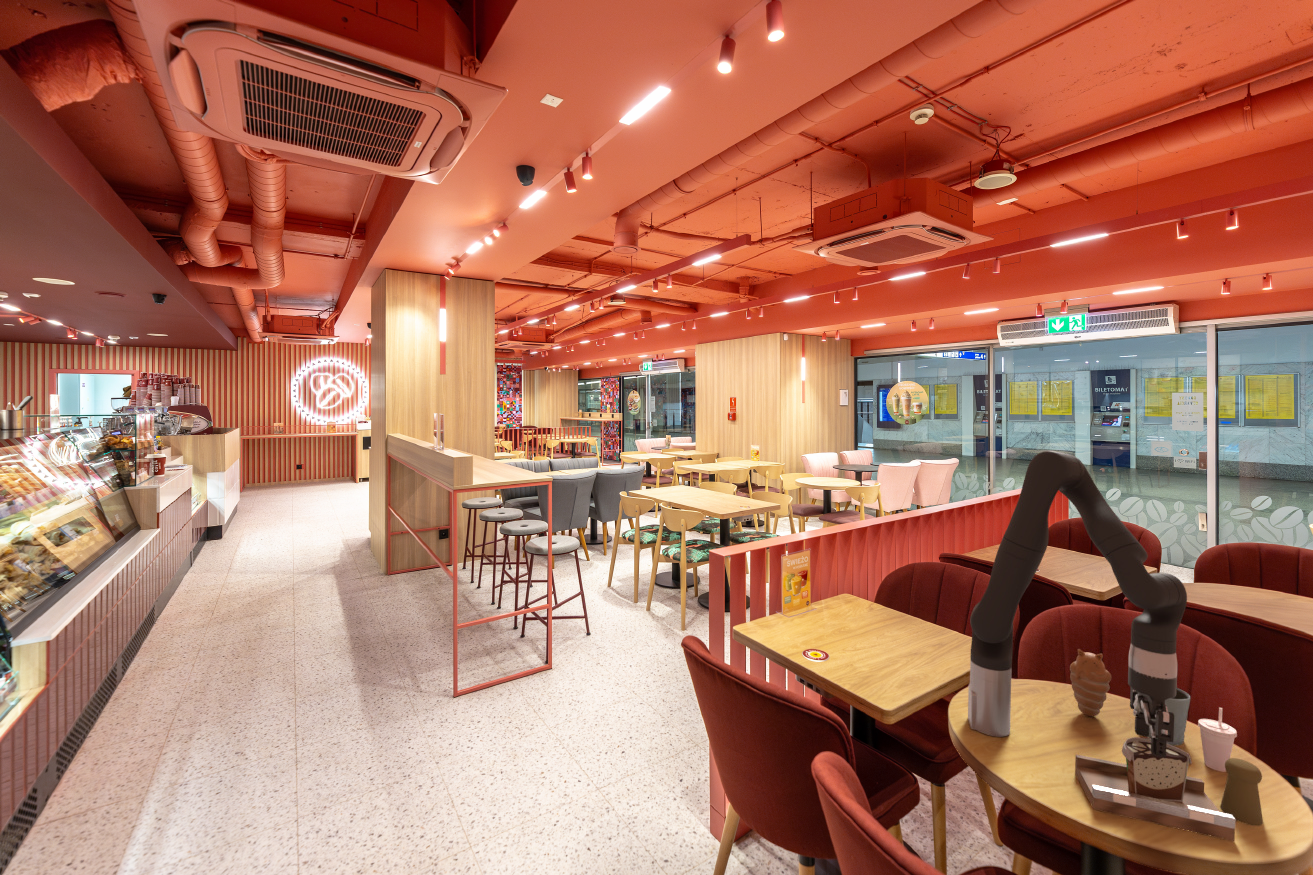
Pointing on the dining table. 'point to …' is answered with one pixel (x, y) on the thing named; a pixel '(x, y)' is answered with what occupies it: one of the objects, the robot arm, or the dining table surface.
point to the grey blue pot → (1177, 715)
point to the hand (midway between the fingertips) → (1149, 744)
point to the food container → (1155, 770)
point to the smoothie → (1216, 742)
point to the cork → (1242, 792)
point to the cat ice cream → (1089, 682)
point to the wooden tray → (1151, 800)
